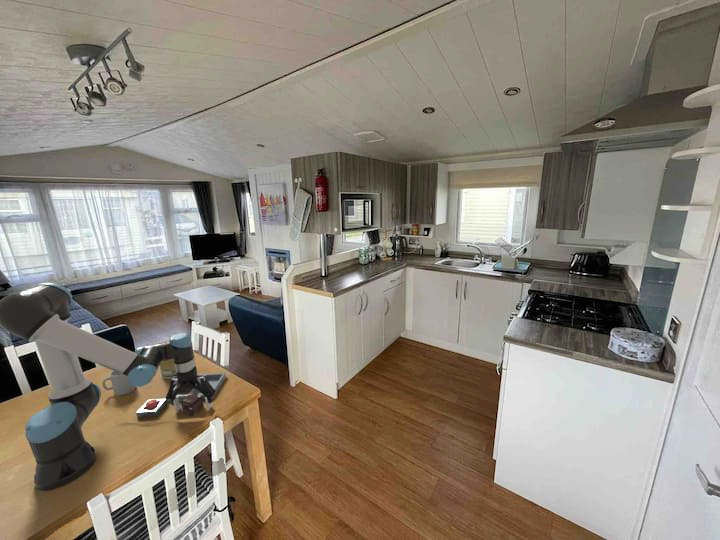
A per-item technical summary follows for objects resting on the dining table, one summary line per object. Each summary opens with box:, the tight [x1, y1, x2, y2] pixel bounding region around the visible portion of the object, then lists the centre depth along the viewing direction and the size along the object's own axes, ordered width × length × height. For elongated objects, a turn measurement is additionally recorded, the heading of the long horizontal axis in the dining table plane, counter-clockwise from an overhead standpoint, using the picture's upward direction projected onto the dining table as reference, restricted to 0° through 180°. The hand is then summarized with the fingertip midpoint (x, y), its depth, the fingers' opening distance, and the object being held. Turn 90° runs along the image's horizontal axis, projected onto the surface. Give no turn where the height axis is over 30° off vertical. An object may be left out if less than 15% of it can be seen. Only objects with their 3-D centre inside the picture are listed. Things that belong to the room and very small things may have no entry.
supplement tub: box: [159, 359, 177, 380], centre depth 151 cm, size 12×12×17 cm
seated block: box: [176, 382, 193, 394], centre depth 137 cm, size 6×6×7 cm
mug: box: [101, 370, 137, 397], centre depth 137 cm, size 12×8×11 cm
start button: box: [145, 398, 158, 409], centre depth 123 cm, size 4×4×4 cm
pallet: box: [167, 372, 227, 403], centre depth 138 cm, size 17×21×4 cm
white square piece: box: [135, 398, 168, 419], centre depth 124 cm, size 8×8×4 cm
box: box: [180, 393, 205, 417], centre depth 124 cm, size 6×6×7 cm
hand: (193, 409), depth 124 cm, fingers open, 13 cm apart
